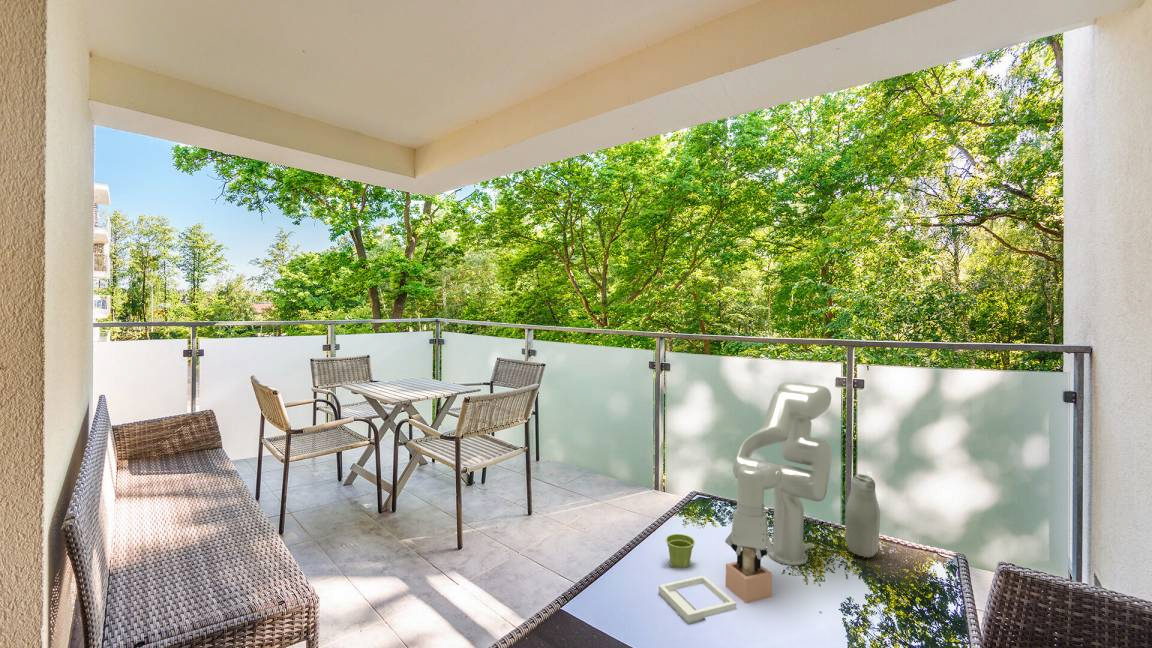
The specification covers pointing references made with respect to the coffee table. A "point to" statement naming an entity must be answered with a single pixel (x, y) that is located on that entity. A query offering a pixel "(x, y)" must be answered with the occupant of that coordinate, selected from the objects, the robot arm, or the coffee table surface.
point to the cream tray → (685, 607)
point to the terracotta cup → (748, 583)
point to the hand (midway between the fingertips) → (748, 567)
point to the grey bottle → (862, 517)
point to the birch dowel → (748, 561)
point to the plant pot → (680, 549)
